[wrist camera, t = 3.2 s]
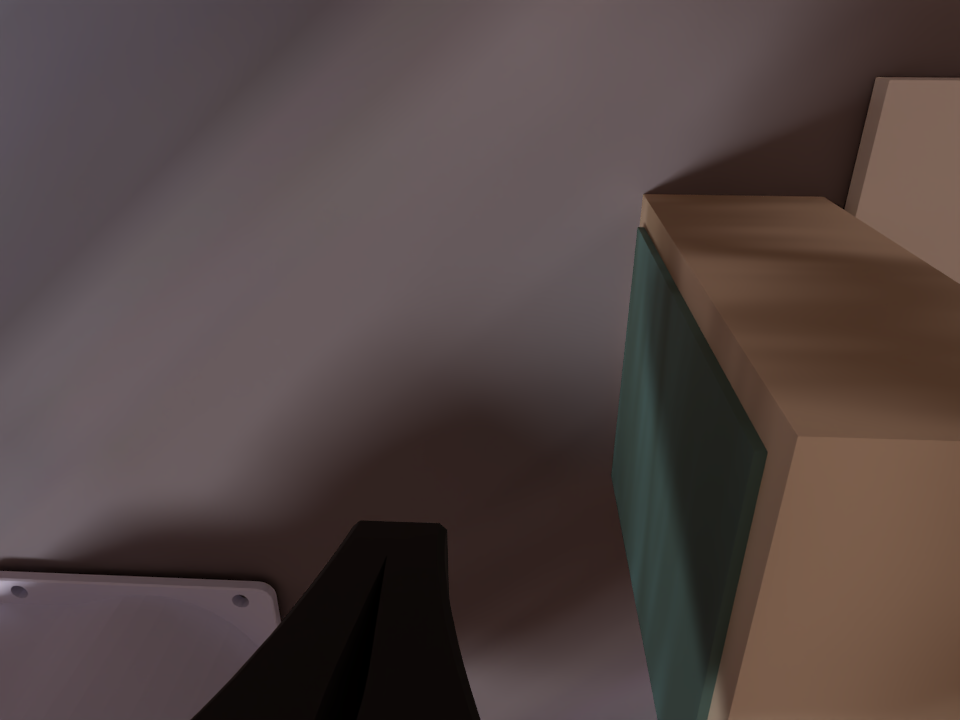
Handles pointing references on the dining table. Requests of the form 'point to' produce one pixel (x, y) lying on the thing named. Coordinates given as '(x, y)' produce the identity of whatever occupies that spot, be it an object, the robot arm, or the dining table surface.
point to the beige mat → (912, 168)
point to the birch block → (790, 464)
